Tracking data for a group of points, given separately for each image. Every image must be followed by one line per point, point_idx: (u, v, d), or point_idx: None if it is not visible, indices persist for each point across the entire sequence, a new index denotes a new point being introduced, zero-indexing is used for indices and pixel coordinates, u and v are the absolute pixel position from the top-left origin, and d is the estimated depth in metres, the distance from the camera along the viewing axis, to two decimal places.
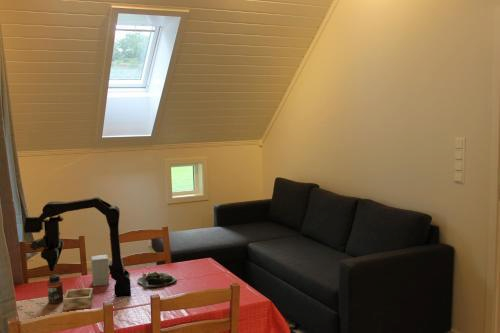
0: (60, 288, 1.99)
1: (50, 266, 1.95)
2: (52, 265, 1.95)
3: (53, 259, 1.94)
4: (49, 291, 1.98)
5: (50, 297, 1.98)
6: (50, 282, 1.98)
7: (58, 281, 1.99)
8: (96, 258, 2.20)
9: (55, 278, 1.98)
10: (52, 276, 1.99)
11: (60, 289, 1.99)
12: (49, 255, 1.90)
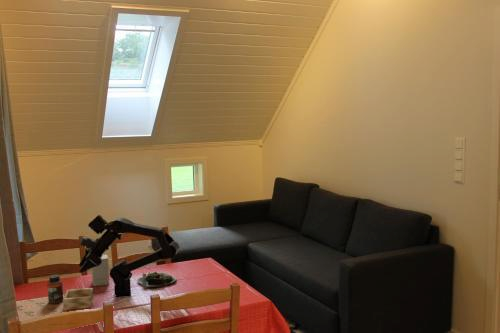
0: (60, 288, 1.99)
1: (83, 268, 1.98)
2: (85, 269, 1.98)
3: (91, 265, 1.98)
4: (49, 291, 1.98)
5: (50, 297, 1.98)
6: (50, 282, 1.98)
7: (58, 281, 1.99)
8: None
9: (55, 278, 1.98)
10: (52, 276, 1.99)
11: (60, 289, 1.99)
12: (94, 261, 1.95)
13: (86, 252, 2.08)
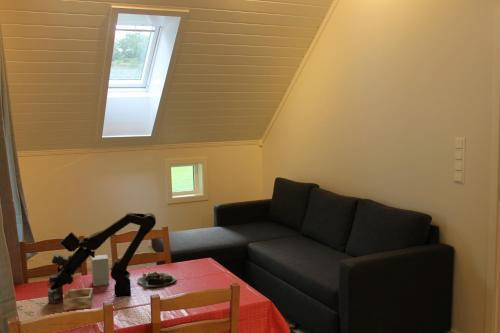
0: (60, 288, 1.99)
1: (54, 285, 1.96)
2: (56, 286, 1.97)
3: (62, 282, 1.97)
4: (49, 291, 1.98)
5: (50, 297, 1.98)
6: (50, 282, 1.98)
7: None
8: (96, 258, 2.20)
9: (55, 278, 1.98)
10: (52, 276, 1.99)
11: (60, 289, 1.99)
12: (65, 279, 1.93)
13: (59, 270, 2.03)
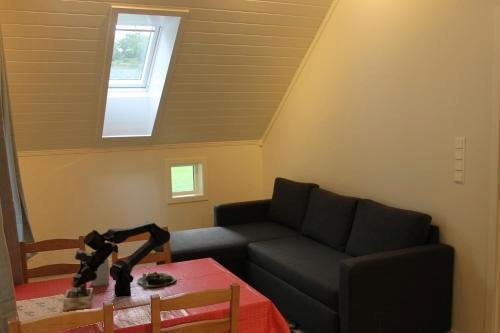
0: (84, 288, 1.97)
1: (78, 283, 1.93)
2: (80, 283, 1.93)
3: (86, 279, 1.93)
4: (73, 291, 1.95)
5: (74, 296, 1.95)
6: (74, 281, 1.95)
7: None
8: None
9: (79, 277, 1.96)
10: (76, 275, 1.97)
11: (84, 289, 1.97)
12: (89, 276, 1.90)
13: (81, 266, 2.02)
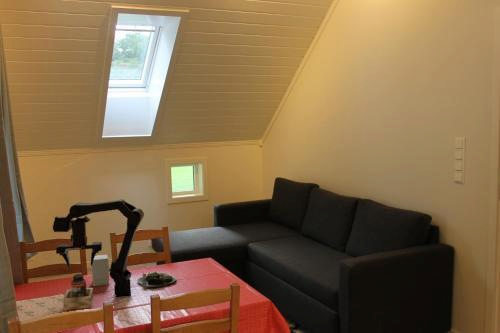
0: (84, 288, 1.97)
1: None
2: None
3: None
4: (73, 291, 1.95)
5: (74, 296, 1.95)
6: (74, 282, 1.95)
7: (82, 280, 1.96)
8: (96, 258, 2.20)
9: (79, 277, 1.96)
10: (76, 275, 1.97)
11: (84, 289, 1.97)
12: None
13: None
